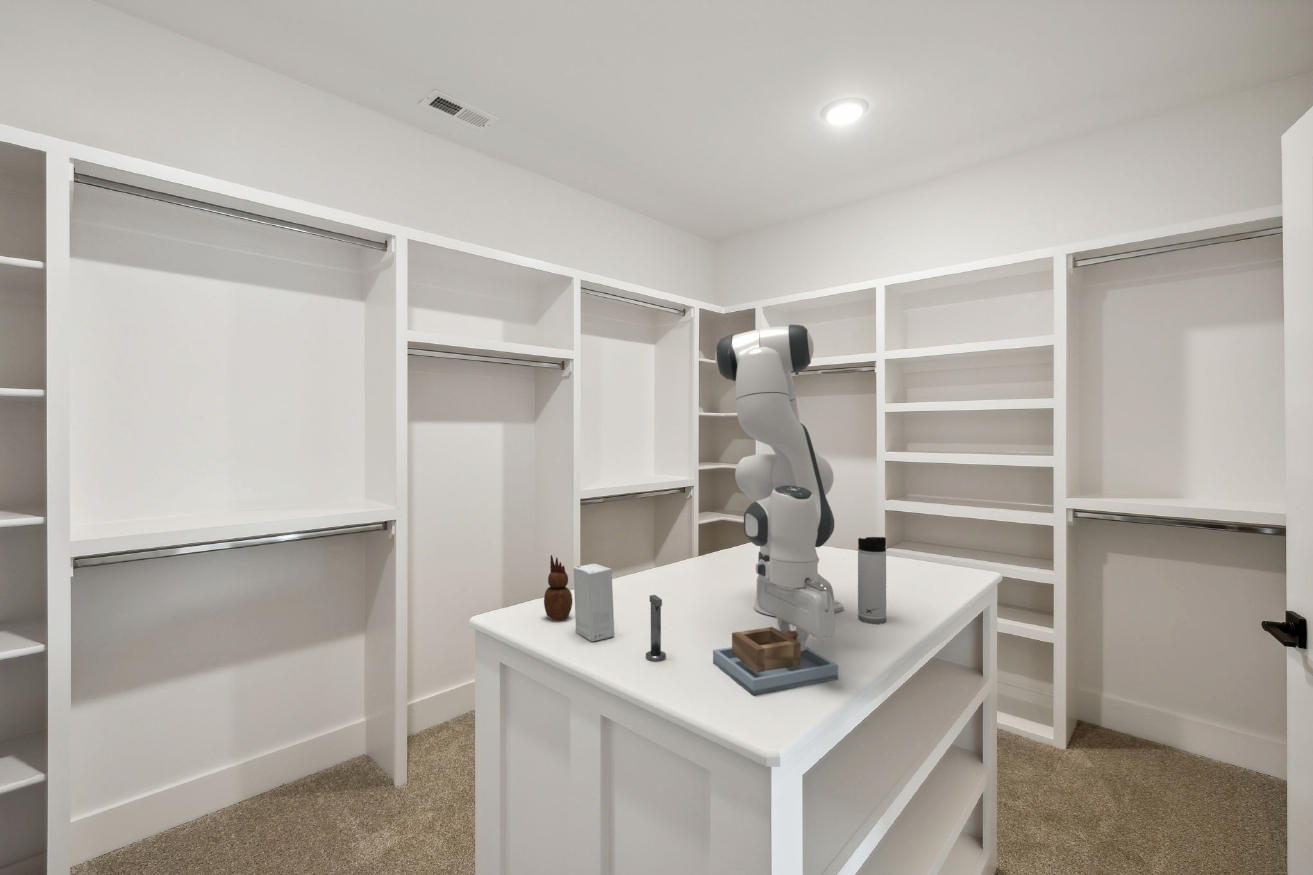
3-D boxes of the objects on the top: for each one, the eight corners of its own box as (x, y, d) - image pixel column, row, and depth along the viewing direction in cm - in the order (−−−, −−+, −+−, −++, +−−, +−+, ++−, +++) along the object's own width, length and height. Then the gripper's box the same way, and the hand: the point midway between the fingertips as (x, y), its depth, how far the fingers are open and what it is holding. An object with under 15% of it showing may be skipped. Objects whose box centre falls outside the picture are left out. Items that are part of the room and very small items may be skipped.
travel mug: (872, 626, 129) (872, 538, 129) (852, 617, 135) (852, 534, 135) (893, 622, 132) (893, 536, 132) (872, 614, 138) (872, 532, 138)
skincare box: (614, 637, 122) (614, 569, 122) (589, 643, 119) (589, 572, 119) (597, 626, 129) (596, 561, 129) (572, 631, 126) (572, 565, 126)
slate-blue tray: (790, 650, 115) (790, 637, 115) (838, 678, 101) (838, 664, 101) (713, 663, 108) (713, 650, 108) (753, 695, 95) (753, 680, 95)
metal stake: (661, 652, 114) (661, 593, 114) (669, 659, 110) (668, 599, 110) (642, 655, 112) (642, 595, 112) (649, 662, 108) (649, 601, 108)
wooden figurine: (539, 618, 135) (539, 555, 135) (559, 612, 140) (558, 552, 140) (557, 624, 131) (556, 559, 131) (576, 618, 135) (576, 555, 135)
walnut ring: (785, 645, 111) (785, 625, 111) (814, 662, 103) (814, 640, 103) (731, 653, 107) (732, 632, 107) (757, 672, 98) (757, 649, 98)
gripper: (844, 584, 98) (844, 664, 98) (777, 560, 117) (777, 627, 117) (813, 588, 95) (813, 669, 95) (751, 563, 114) (751, 631, 115)
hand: (793, 646), depth 106 cm, fingers closed on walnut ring, 2 cm apart
